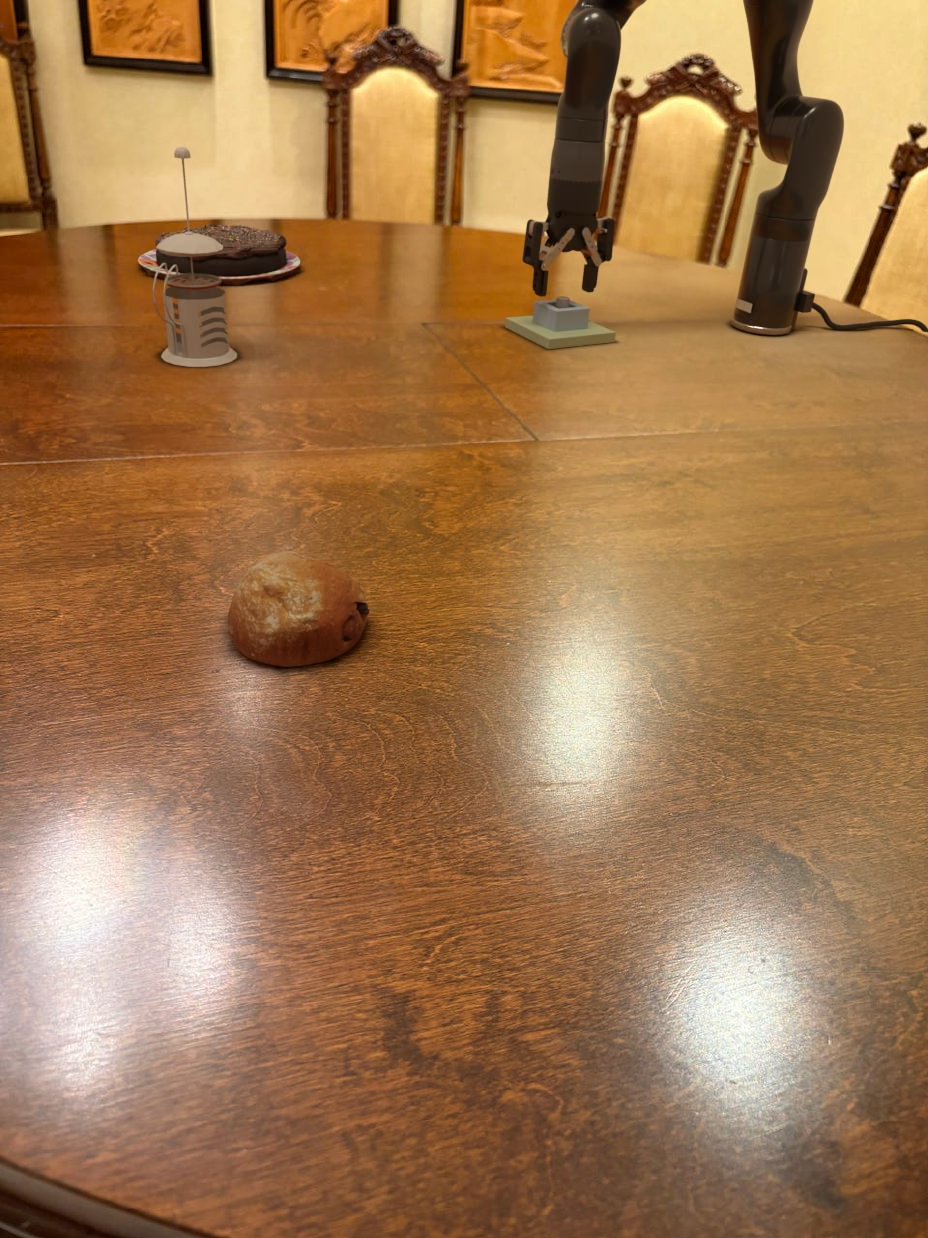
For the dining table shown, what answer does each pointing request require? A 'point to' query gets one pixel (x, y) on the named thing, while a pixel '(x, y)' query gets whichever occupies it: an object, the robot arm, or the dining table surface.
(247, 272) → the chocolate cake
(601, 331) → the green peg base
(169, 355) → the french press
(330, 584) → the bread roll
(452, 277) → the dining table surface
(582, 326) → the gray rectangular block
